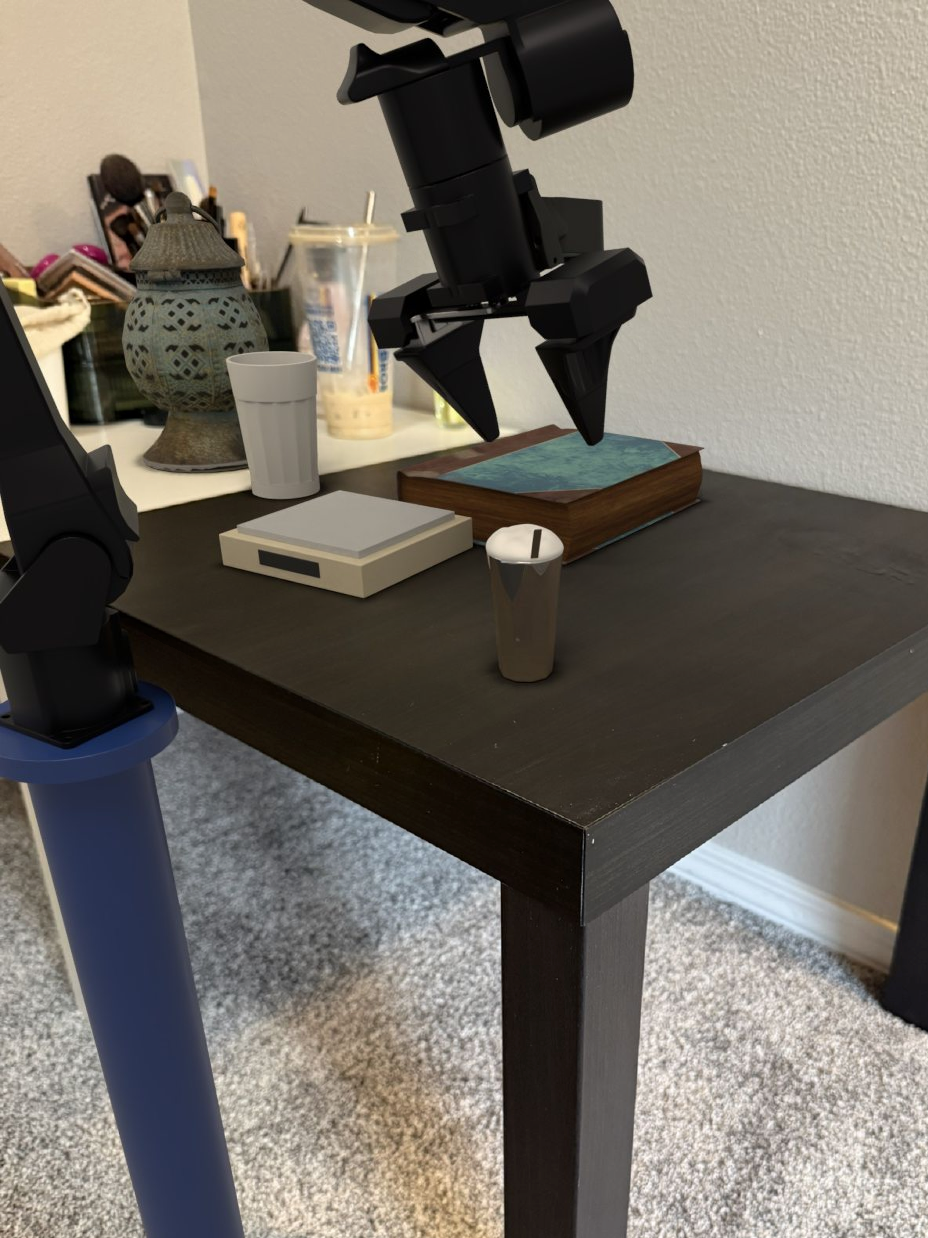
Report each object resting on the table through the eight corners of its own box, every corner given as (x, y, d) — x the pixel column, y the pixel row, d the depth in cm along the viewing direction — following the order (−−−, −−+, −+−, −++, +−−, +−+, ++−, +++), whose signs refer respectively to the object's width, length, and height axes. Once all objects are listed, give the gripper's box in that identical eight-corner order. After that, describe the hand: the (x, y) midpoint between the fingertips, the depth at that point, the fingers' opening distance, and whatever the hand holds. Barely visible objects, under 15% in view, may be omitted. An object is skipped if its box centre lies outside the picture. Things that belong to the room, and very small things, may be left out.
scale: (363, 599, 78) (360, 557, 77) (222, 565, 84) (216, 526, 83) (473, 547, 89) (472, 510, 87) (341, 520, 95) (337, 485, 94)
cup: (338, 480, 107) (327, 352, 101) (314, 502, 100) (300, 366, 94) (260, 477, 107) (244, 350, 102) (230, 499, 100) (211, 364, 95)
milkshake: (501, 696, 64) (497, 532, 59) (482, 660, 69) (478, 505, 64) (574, 688, 65) (577, 526, 61) (551, 653, 70) (552, 500, 65)
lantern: (114, 457, 114) (64, 190, 102) (225, 434, 124) (192, 188, 112) (196, 479, 106) (153, 193, 95) (308, 453, 116) (281, 191, 105)
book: (549, 473, 110) (550, 422, 108) (703, 501, 102) (707, 447, 99) (398, 526, 94) (395, 468, 91) (567, 566, 85) (568, 503, 83)
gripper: (679, 96, 57) (737, 386, 65) (451, 152, 69) (525, 388, 78) (539, 163, 51) (623, 470, 60) (319, 210, 64) (415, 458, 72)
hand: (542, 441), depth 68 cm, fingers open, 9 cm apart
